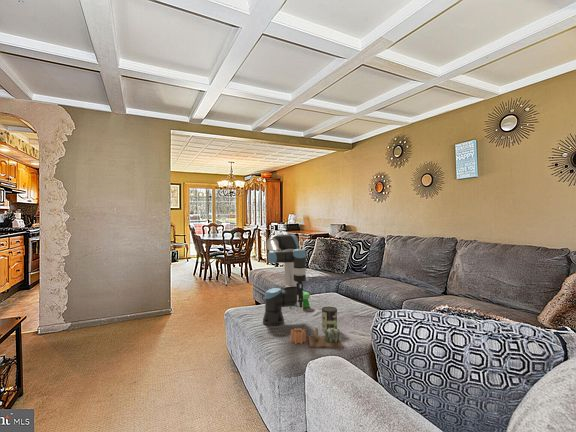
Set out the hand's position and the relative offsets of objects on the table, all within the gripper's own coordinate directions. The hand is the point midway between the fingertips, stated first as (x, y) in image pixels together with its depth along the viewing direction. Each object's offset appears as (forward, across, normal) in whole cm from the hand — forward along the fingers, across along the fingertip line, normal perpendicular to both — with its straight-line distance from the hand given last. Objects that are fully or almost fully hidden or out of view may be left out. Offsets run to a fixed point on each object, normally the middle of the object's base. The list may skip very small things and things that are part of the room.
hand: (299, 308), depth 186 cm
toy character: (+19, +62, -4) cm, 65 cm away
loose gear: (+19, -1, +1) cm, 19 cm away
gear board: (+19, -4, -15) cm, 25 cm away
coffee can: (+19, +14, -20) cm, 32 cm away
